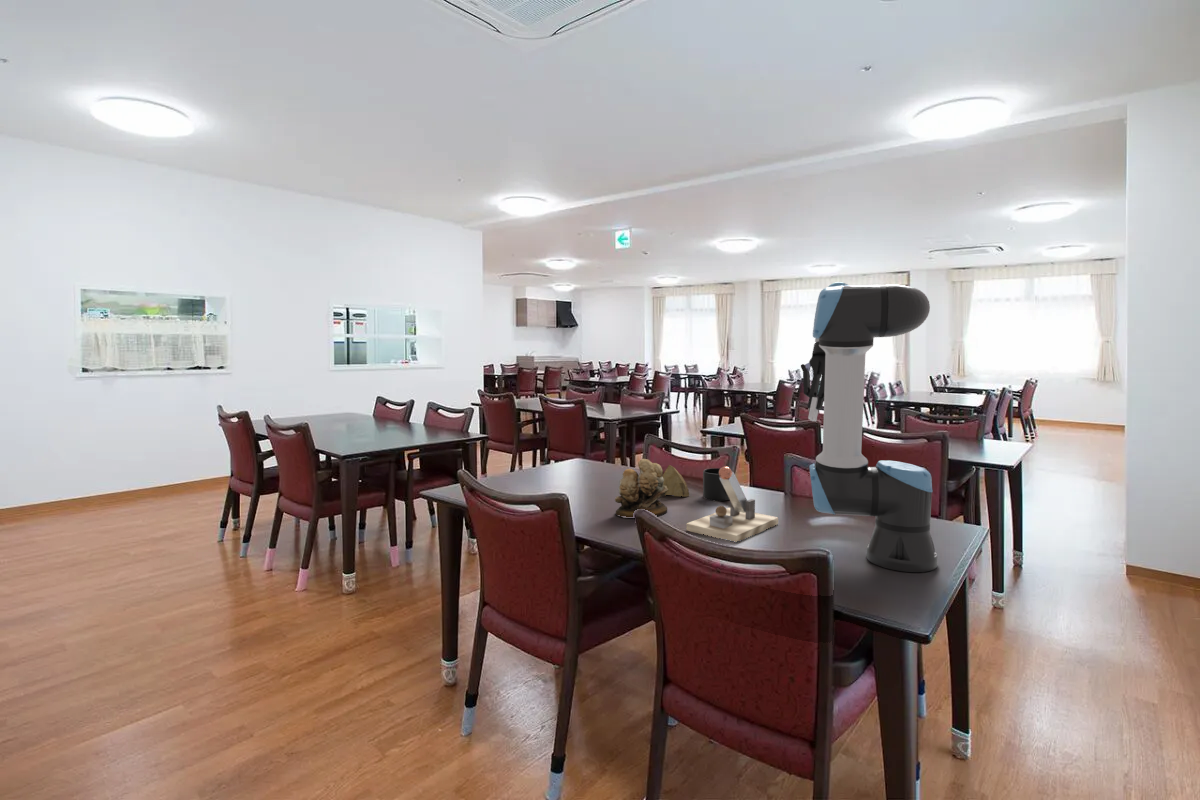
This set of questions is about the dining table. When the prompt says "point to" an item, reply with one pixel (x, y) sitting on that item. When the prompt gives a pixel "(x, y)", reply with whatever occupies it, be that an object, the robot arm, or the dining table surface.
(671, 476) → the rock
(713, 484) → the mug
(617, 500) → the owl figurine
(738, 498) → the lever
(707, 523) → the tan bracket base plate
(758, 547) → the dining table surface
